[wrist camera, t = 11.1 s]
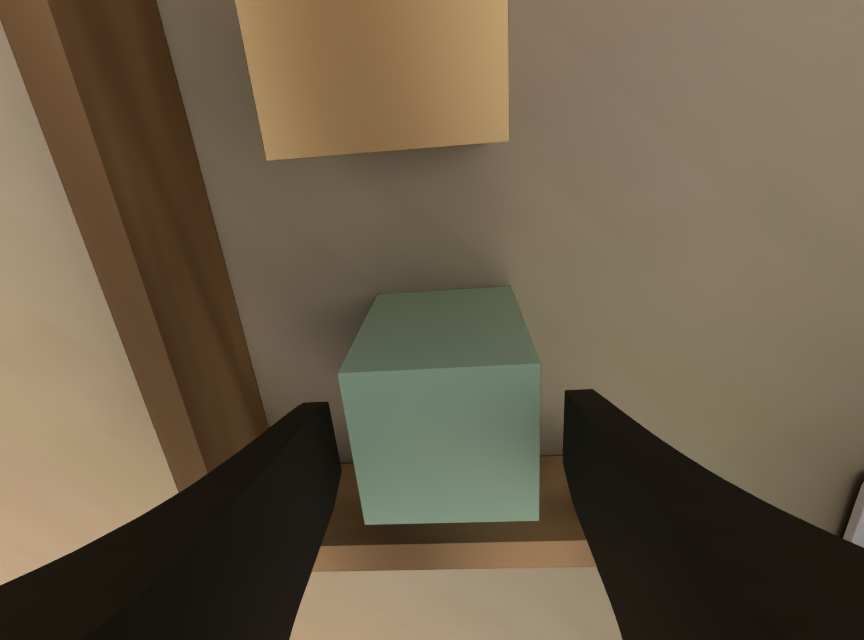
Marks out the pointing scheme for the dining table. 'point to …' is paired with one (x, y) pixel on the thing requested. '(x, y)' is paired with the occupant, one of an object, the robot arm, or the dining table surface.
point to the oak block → (376, 74)
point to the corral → (205, 280)
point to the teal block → (444, 408)
